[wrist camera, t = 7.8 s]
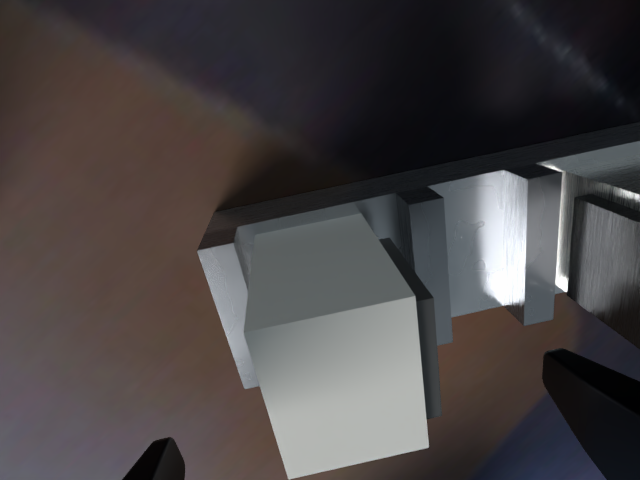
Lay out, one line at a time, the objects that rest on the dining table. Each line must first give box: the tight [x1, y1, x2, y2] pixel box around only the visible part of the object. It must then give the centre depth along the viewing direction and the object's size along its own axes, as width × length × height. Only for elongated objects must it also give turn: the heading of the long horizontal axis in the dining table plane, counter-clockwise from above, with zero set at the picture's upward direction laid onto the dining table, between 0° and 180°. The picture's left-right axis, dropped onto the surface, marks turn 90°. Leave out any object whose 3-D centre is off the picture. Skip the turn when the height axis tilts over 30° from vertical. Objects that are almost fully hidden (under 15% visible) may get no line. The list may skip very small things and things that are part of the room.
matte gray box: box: [243, 213, 442, 479], centre depth 13 cm, size 5×5×6 cm
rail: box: [197, 122, 640, 389], centre depth 14 cm, size 6×20×8 cm, turn 101°
